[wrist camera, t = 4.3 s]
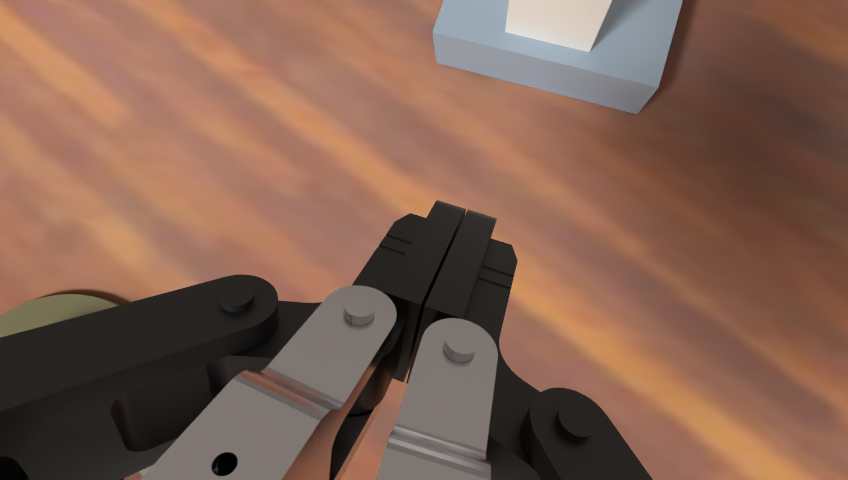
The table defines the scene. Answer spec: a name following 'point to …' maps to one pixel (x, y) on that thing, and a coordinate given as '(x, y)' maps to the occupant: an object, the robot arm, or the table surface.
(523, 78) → the plate
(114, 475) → the robot arm
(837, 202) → the table surface
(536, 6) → the white rectangular block
